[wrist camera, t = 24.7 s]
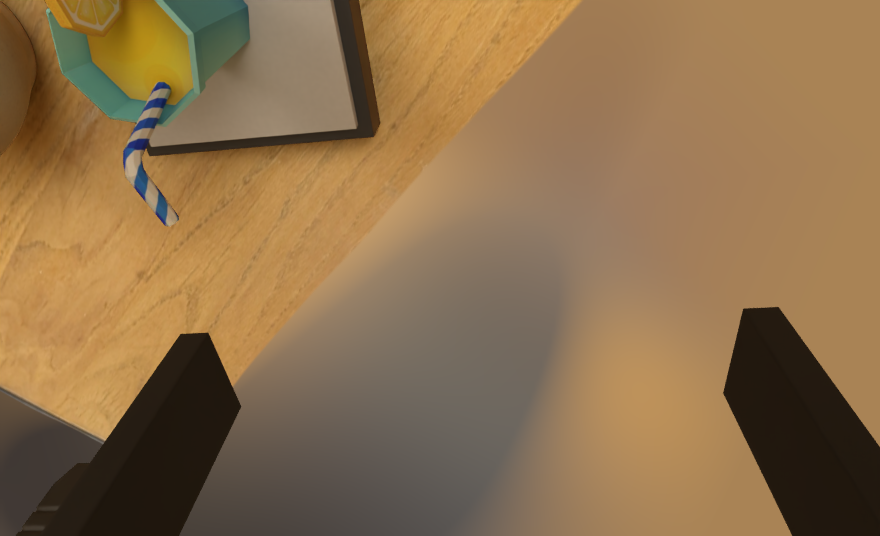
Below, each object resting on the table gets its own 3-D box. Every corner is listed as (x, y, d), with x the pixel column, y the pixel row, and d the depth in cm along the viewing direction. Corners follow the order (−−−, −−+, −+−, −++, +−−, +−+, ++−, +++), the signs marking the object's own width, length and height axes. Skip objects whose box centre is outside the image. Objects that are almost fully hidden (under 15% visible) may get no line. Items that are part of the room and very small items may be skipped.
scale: (322, -206, 33) (305, -218, 29) (380, 123, 43) (372, 141, 40) (46, -161, 35) (2, -167, 32) (167, 142, 46) (144, 160, 42)
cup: (311, 117, 40) (231, 217, 27) (216, 141, 41) (99, 246, 29) (220, -110, 32) (55, -117, 20) (109, -70, 34) (-110, -53, 21)
